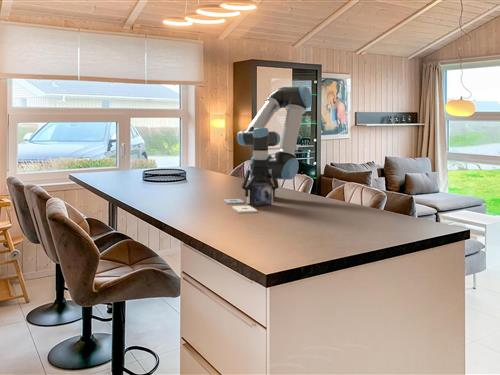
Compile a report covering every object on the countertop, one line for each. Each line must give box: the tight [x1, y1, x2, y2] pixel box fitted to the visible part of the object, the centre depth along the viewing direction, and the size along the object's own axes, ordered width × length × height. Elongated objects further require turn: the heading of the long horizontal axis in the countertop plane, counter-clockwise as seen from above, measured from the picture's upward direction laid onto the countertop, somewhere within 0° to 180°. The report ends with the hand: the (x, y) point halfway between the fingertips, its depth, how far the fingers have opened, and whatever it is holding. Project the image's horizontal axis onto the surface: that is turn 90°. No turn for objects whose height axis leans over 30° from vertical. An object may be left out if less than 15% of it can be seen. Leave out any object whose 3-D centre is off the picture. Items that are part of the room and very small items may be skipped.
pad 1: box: [222, 198, 245, 205], centre depth 246 cm, size 9×10×1 cm
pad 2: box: [231, 205, 258, 214], centre depth 224 cm, size 9×14×1 cm, turn 15°
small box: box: [247, 183, 273, 207], centre depth 238 cm, size 11×6×10 cm, turn 117°
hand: (259, 202), depth 238 cm, fingers closed on small box, 11 cm apart
